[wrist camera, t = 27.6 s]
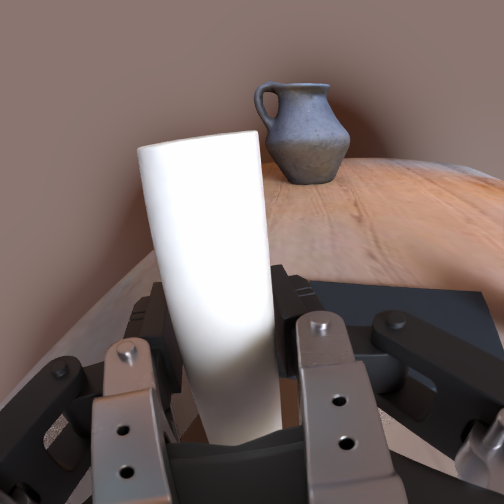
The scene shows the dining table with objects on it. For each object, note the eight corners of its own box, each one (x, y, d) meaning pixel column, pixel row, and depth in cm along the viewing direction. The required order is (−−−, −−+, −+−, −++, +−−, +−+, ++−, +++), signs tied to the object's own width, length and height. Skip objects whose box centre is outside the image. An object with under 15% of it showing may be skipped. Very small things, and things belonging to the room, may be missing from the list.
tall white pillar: (277, 568, 8) (199, 144, 2) (161, 524, 10) (-19, 191, 5) (333, 426, 15) (341, 124, 10) (239, 406, 17) (195, 135, 12)
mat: (265, 376, 19) (264, 369, 19) (310, 286, 29) (310, 280, 29) (512, 395, 13) (515, 388, 13) (479, 297, 23) (481, 291, 23)
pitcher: (363, 186, 67) (356, 73, 58) (264, 193, 68) (252, 76, 59) (339, 172, 86) (333, 83, 77) (261, 178, 87) (252, 87, 78)
